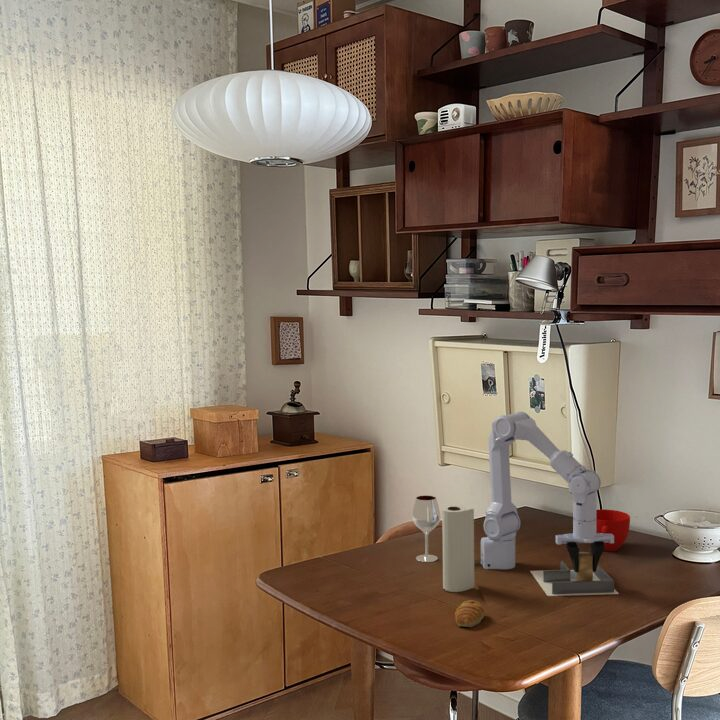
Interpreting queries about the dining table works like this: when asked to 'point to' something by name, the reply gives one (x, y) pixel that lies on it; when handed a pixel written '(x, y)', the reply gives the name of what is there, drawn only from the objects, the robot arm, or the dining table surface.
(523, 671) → the dining table surface
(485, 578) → the dining table surface
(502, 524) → the robot arm
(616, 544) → the ceramic cup
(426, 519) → the wineglass
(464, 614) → the pastry
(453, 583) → the paper towel roll
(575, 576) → the track board
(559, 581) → the metal rails
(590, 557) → the oak dowel
